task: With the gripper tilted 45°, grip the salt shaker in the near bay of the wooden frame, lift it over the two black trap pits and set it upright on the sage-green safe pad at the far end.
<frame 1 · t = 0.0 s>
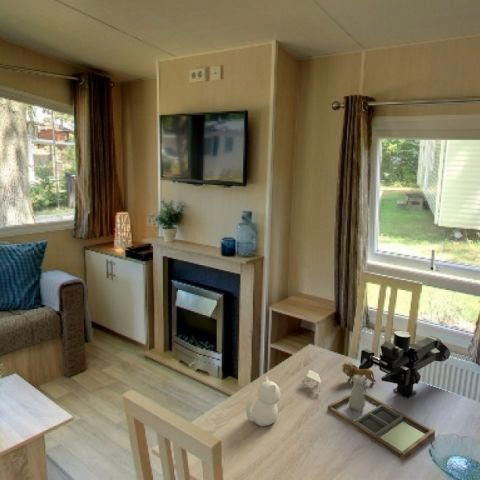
hand: (370, 373, 140), 17 cm above the table, tool horizontal, fingers open, 9 cm apart
trap pits: (378, 420, 139), in the wooden frame
safe pad: (403, 437, 132), resting in wooden frame
origami figure: (312, 388, 159), on the table
cat figurine: (262, 421, 138), on the table
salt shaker: (356, 409, 147), resting in wooden frame
wooden frame: (378, 422, 139), on the table
lion figurine: (357, 383, 164), on the table
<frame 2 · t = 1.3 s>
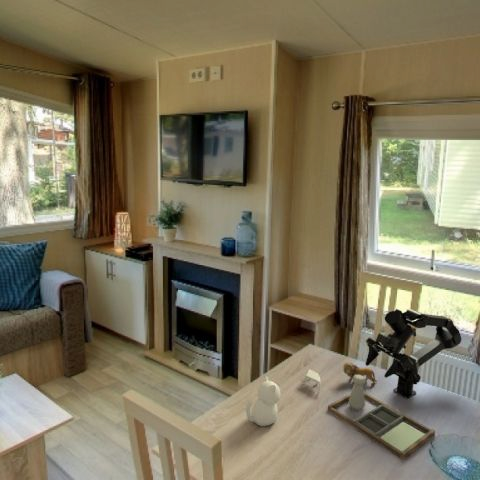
hand: (375, 370, 147), 13 cm above the table, tool tilted 45°, fingers open, 9 cm apart
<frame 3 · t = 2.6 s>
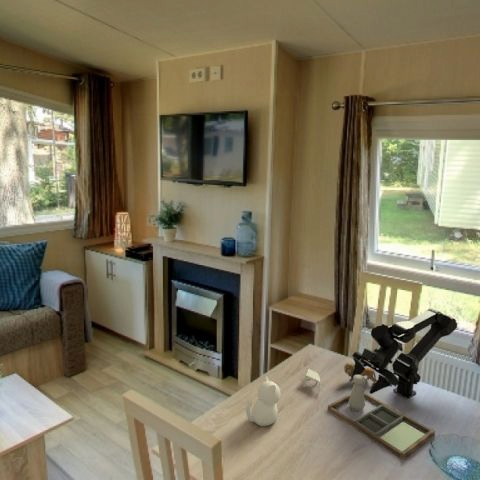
hand: (360, 386, 145), 9 cm above the table, tool tilted 45°, fingers open, 9 cm apart
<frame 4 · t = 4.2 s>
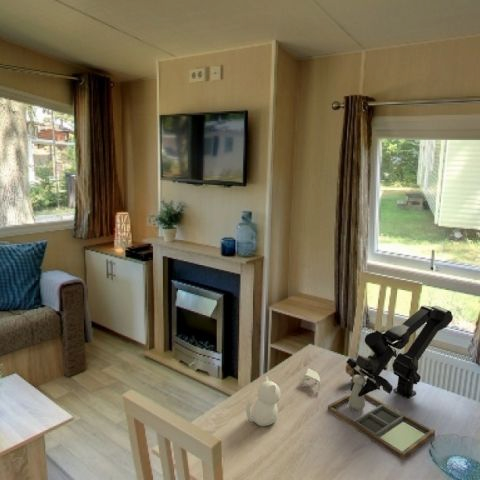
hand: (354, 393, 145), 7 cm above the table, tool tilted 45°, fingers closed on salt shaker, 3 cm apart
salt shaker: (356, 409, 147), resting in wooden frame, touching gripper
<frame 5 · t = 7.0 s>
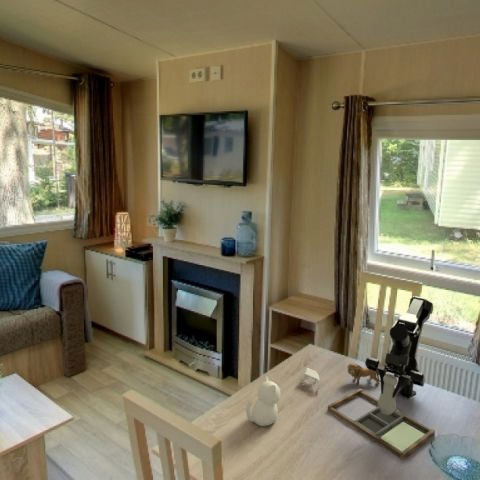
hand: (387, 395, 132), 13 cm above the table, tool tilted 45°, fingers closed on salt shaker, 3 cm apart
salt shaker: (385, 411, 135), point 7 cm above the table, touching gripper
when the fingers open (8 cm above the table, at t = 9.4 s): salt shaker drops 1 cm, resting on safe pad.
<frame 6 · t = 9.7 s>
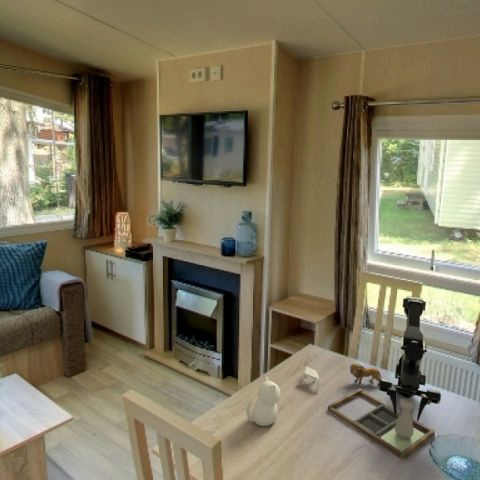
hand: (406, 417, 129), 8 cm above the table, tool tilted 45°, fingers open, 6 cm apart
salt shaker: (403, 436, 132), resting on safe pad
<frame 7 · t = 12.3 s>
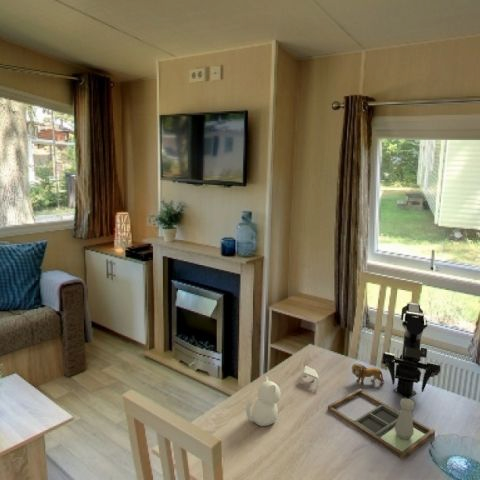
hand: (407, 387, 137), 14 cm above the table, tool tilted 45°, fingers open, 9 cm apart
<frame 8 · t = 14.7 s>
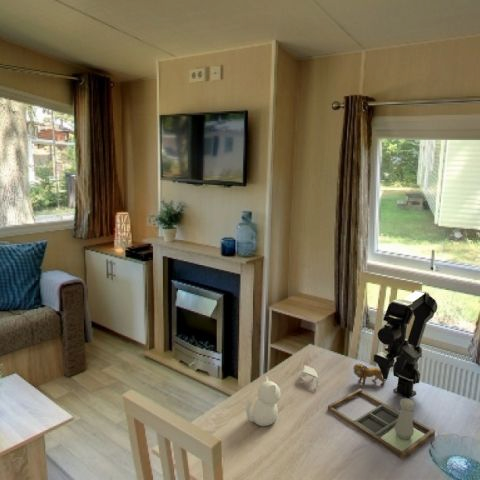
hand: (392, 375, 145), 13 cm above the table, tool pointing down, fingers open, 9 cm apart
at the end: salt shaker inside the target area on the safe pad (0.1 cm from its centre), point 0.2 cm above the safe pad's base; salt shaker tilted 0°; the gripper is holding nothing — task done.
